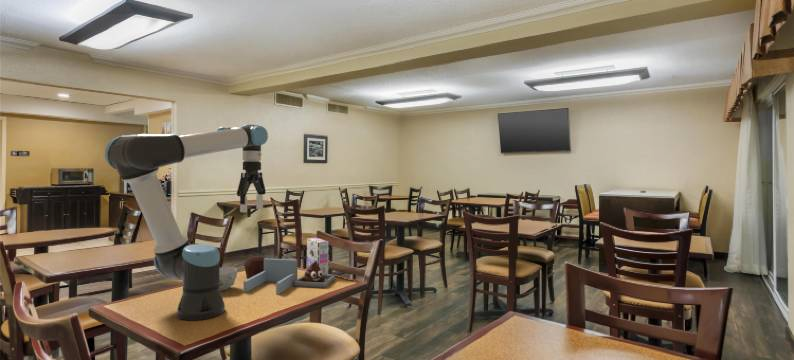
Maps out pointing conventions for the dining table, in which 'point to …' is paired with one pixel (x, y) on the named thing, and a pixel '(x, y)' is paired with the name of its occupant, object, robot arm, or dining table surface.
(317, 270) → the poop emoji
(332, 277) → the tray
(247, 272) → the muffin
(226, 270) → the teacup
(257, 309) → the dining table surface
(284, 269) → the bay
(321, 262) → the candy box
